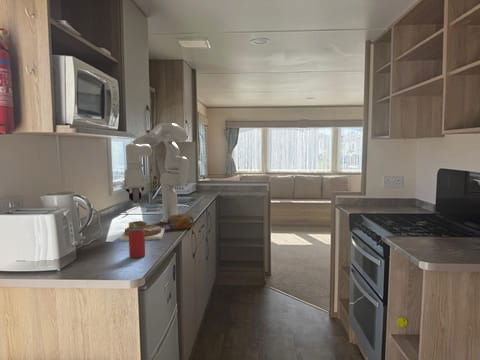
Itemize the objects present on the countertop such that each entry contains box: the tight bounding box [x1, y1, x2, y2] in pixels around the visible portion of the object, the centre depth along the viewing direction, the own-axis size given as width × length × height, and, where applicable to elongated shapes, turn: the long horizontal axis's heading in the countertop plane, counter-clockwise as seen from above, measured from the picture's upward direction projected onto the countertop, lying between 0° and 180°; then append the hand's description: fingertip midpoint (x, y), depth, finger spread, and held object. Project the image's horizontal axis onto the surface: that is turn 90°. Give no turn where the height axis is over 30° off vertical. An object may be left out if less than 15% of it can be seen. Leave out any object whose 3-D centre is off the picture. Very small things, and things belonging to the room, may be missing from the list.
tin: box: [167, 213, 194, 230], centre depth 209 cm, size 15×3×8 cm, turn 105°
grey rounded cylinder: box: [131, 187, 140, 208], centre depth 195 cm, size 4×4×10 cm
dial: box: [124, 220, 162, 236], centre depth 192 cm, size 19×19×4 cm
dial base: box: [118, 227, 166, 242], centre depth 192 cm, size 21×21×2 cm
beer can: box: [128, 228, 146, 259], centre depth 153 cm, size 7×7×12 cm
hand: (135, 199), depth 196 cm, fingers closed on grey rounded cylinder, 3 cm apart
